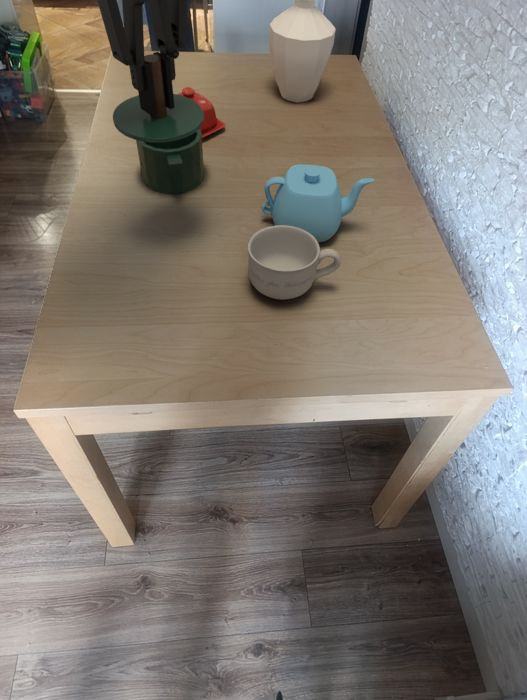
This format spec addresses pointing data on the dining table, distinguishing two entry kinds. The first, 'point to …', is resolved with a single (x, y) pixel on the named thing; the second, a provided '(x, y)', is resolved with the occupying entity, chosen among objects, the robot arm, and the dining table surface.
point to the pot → (172, 164)
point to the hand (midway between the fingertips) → (157, 107)
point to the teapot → (311, 200)
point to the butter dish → (210, 120)
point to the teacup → (286, 261)
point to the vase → (300, 49)
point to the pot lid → (158, 113)
